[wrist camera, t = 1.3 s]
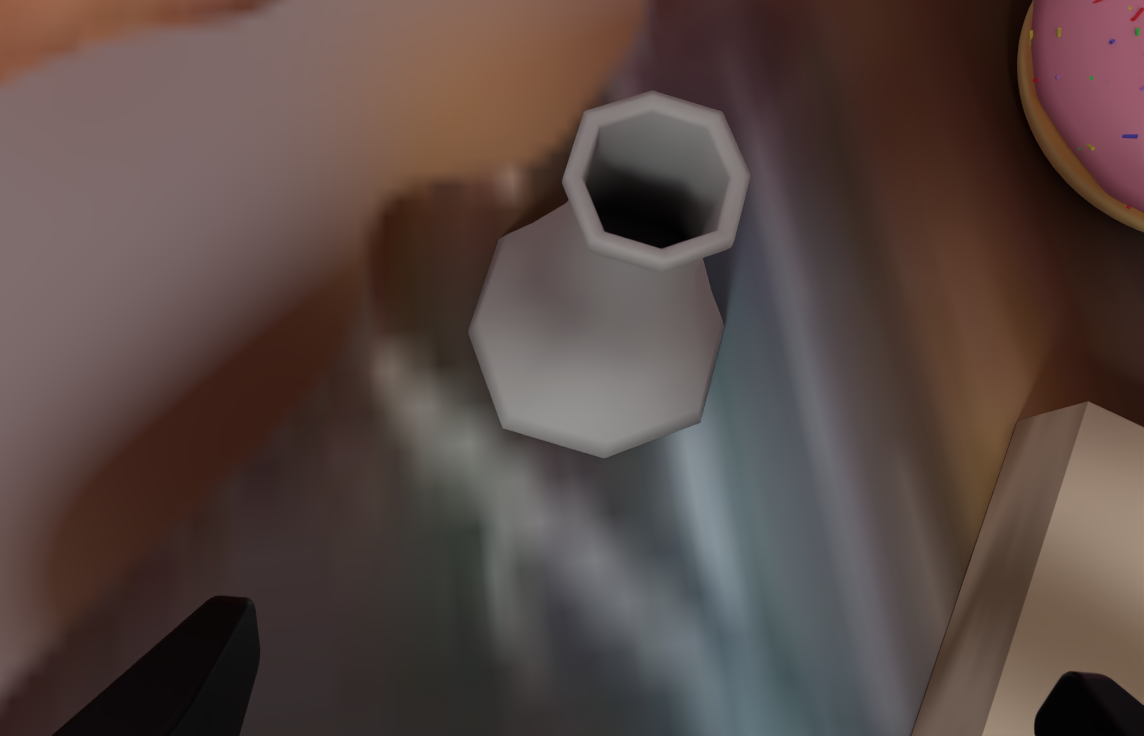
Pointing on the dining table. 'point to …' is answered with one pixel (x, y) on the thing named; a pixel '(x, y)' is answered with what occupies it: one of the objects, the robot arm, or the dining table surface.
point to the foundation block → (1047, 577)
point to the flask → (616, 282)
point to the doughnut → (1088, 97)
